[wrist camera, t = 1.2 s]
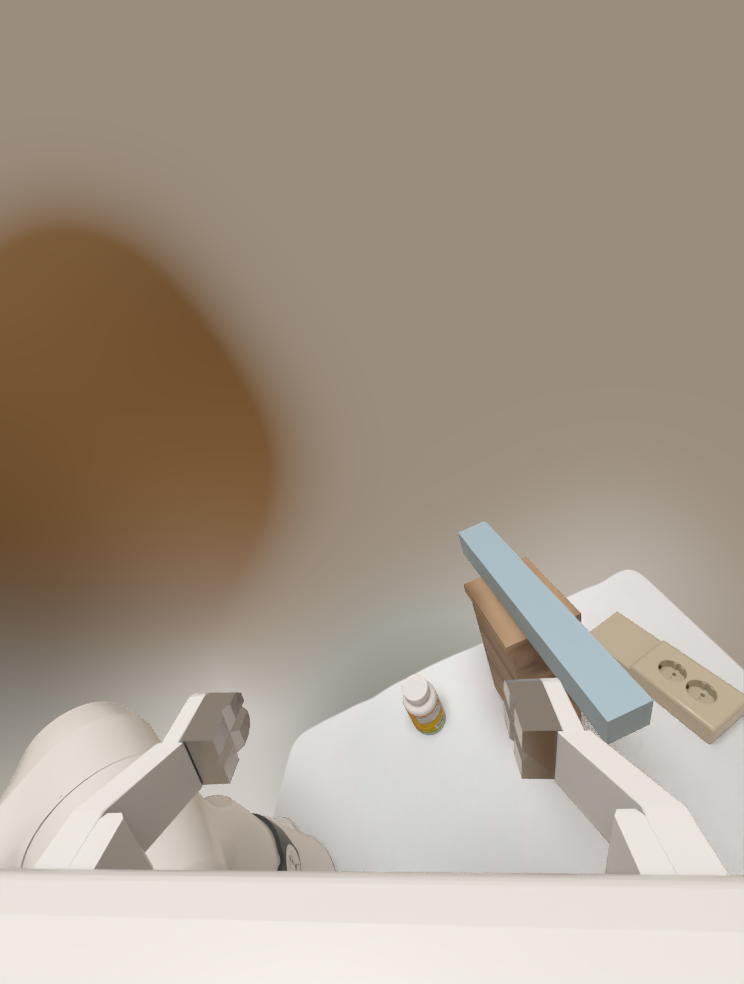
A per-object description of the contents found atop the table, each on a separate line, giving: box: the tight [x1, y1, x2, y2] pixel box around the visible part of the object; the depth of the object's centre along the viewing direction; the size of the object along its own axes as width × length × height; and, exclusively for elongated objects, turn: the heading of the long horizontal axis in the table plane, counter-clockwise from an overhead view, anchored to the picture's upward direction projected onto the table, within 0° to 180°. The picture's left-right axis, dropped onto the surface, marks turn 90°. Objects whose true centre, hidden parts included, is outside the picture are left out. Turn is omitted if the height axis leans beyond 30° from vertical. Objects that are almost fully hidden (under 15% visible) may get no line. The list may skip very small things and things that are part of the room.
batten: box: [458, 521, 654, 744], centre depth 41 cm, size 4×26×4 cm, turn 16°
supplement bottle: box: [402, 675, 445, 735], centre depth 59 cm, size 5×5×10 cm
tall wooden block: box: [464, 557, 581, 722], centre depth 51 cm, size 9×10×26 cm
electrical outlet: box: [590, 612, 744, 744], centre depth 55 cm, size 7×4×18 cm
